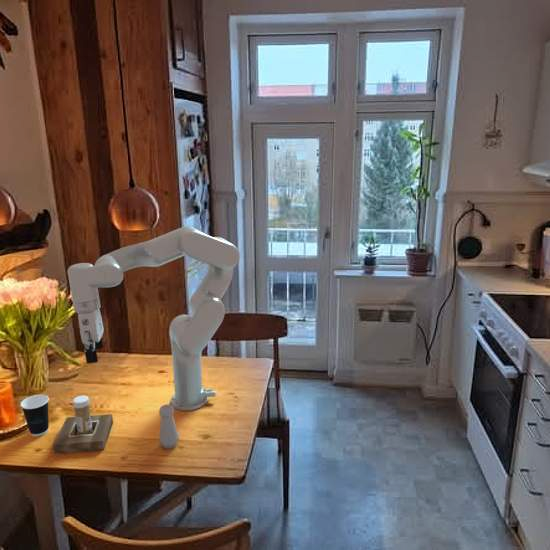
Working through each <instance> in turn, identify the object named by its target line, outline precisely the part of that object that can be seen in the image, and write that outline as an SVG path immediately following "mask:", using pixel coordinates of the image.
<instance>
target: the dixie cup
mask: <svg viewBox="0 0 550 550" xmlns="http://www.w3.org/2000/svg"><path fill="white" fill-rule="evenodd" d="M49 400H50V398H49V396H48V395H46V394H35V395H31V396H28V397H26V398H24V399H23V400H22V401H21V402H20V404H19V406H20V407H21V409H22V411H23V415H24V419H25V421H26V425H27V428H28V431H29V433H30V434H31V436H32V437H35V438H36V437H37V438H38V437H42V436H44V435H46V434H47V433H48V432H49V427H50V426H49Z"/></svg>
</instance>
